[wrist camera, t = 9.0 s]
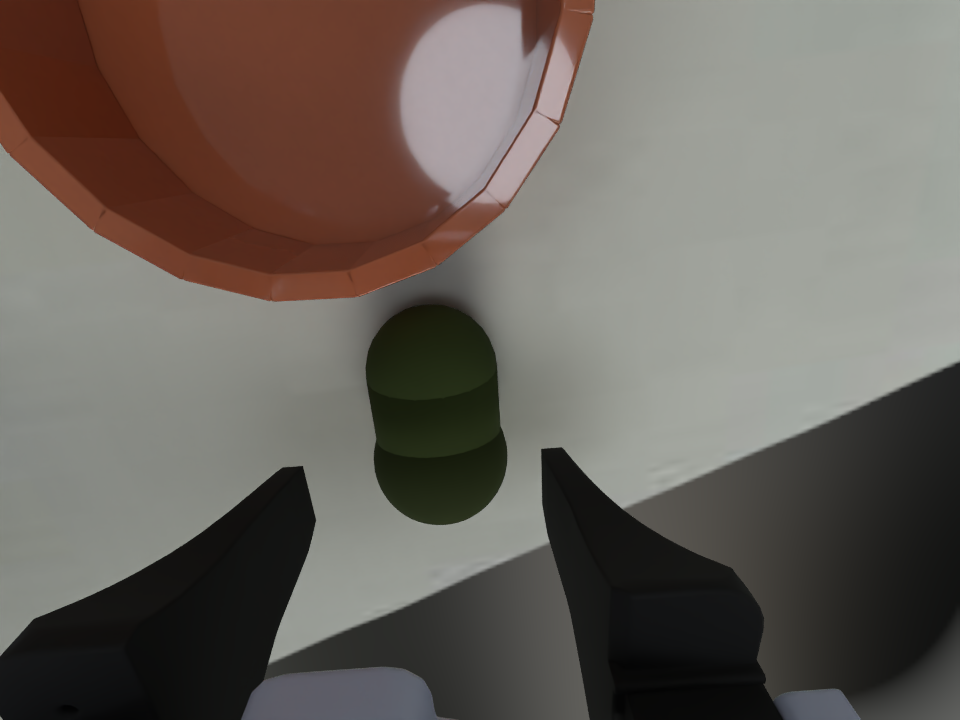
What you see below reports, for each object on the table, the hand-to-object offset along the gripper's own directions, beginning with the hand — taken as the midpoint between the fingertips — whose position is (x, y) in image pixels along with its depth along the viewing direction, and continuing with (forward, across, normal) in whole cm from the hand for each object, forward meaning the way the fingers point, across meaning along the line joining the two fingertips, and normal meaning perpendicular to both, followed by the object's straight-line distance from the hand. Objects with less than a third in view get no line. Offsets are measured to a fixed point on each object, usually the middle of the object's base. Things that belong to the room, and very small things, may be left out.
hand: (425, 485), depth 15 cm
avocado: (+6, 0, 0) cm, 6 cm away
